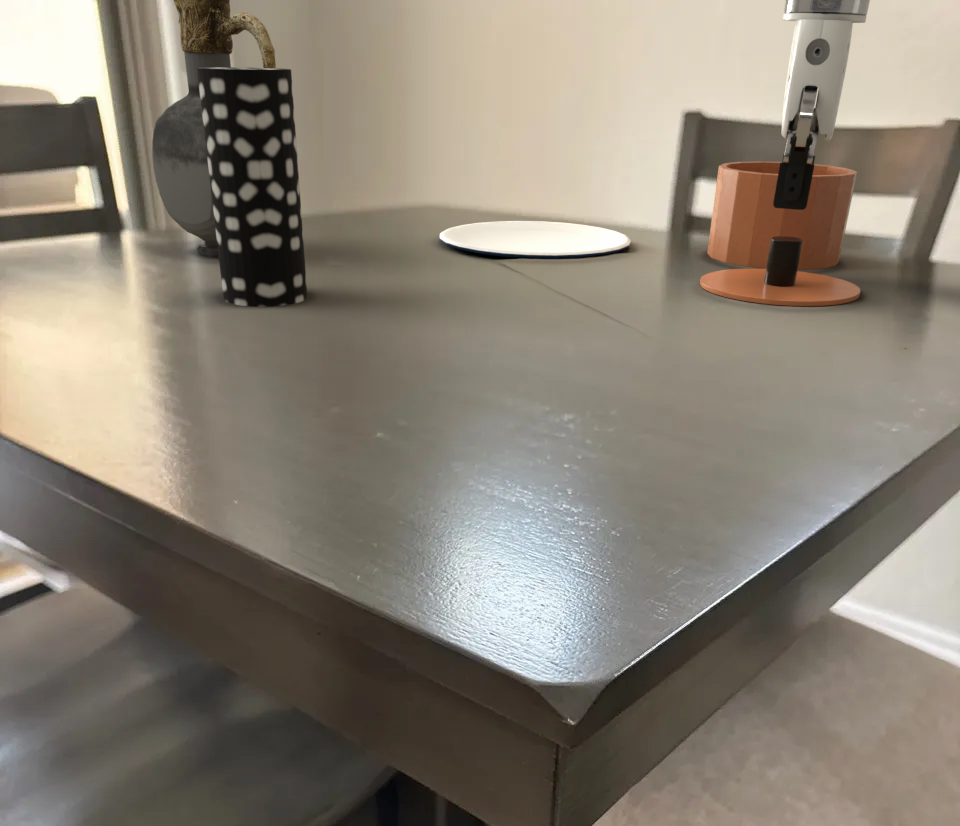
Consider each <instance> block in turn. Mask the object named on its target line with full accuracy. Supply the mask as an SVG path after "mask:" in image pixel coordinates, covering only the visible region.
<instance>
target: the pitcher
mask: <svg viewBox="0 0 960 826" xmlns="http://www.w3.org/2000/svg"><path fill="white" fill-rule="evenodd" d="M230 1H231V0H173V4H174V6H175V9H176V11H177V14H178V24H179V37H180V38H179V39H180V46H181V51H182V52H183V53H184V54H183V55H184V63H185V70H186V79H187V87H188V94H186V95H185V96H183V97H182V98H180V99H179V100H176V101H175V102H173V103H172V104H171V105H169V106H168V107H167V108H166V109H165V110H164V111H163V112H162V113H161V114H160V116H159V117H158V118H157V119H156V121H155V124H154V127H153V128H154V129H153V132H152V142H151V145H152V147H151V148H152V149H151V156H152V168H153V173H154V174H153V175H154V178H155V179H154V180H155V183H156V187H157V190H158V193H159V197H160V199H161V201H162V204H163V206H164V208H165V211H167V214H168V215H169V217H170V218H171V219H172V220H173V221H174V222H175V223H176V224H177V225H178V226H179V227H180V228H182V229H183V230H184V231H185V232H186V233H189V234H191V235H193V236H196V237H197V238H199V239H201V240H202V241H200V242H198V243H197V244H196V245H195V250H196V252H197V254H198V255H200V256H203V257H208V258H216V259H219V255H218V246H217V237H216V229H215V220H214V211H213V203H212V194H211V185H210V177H209V168H208V160H207V151H206V142H205V134H204V125H203V116H202V108H201V99H200V90H199V82H198V73H197V68H199V67H232V64H231V54H233V49H234V43H233V42H234V41H233V37H232V36H236V35H239V34H240V33H242V32H243V31H246V32H248V33H250V34H251V35H252V36H253V38H254V39H255V41H256V43H257V45H258V48H259V52H260V55H261V61H262V68H277V64H276V53H275V52H276V51H275V48H274V46H273V43H272V40H271V38H270V34H269V32H268V30H267V28H266V26H265V25H264V24H263V23H262V21H260V19H259V18H258V17H257V16H255V15H253V14H251V13H249V12H238V13H236V14H234V15H233V16H231V4H230V3H231V2H230Z"/></svg>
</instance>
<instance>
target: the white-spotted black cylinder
mask: <svg viewBox="0 0 960 826" xmlns="http://www.w3.org/2000/svg"><path fill="white" fill-rule="evenodd" d="M197 73H198V82H199V90H200V99H201V108H202V116H203V125H204V134H205V142H206V151H207V160H208V168H209V177H210V185H211V194H212V203H213V211H214V220H215V229H216V237H217V246H218V255H219V258H218V262H219V263H218V264H219V272H220V279H221V281H220V282H221V288H222V289H221V290H222V297H223V301H225V302H226V303H229V304H231V305H236V306H241V307H255V308H267V307H282V306H290V305H294V304H299V303H302V302H305V300H307V299H308V286H307V285H308V284H307V271H306V259H305V257H306V256H305V245H304V243H305V242H304V231H303V216H302V202H301V189H300V188H301V187H300V174H299V161H298V145H297V133H296V119H295V118H296V117H295V104H294V91H293V77H292V69H291V68H280V67H279V68H278V67H276V68H263V67H244V66H243V67H240V66H239V67H237V66H231V67H199V68H197Z"/></svg>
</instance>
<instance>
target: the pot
mask: <svg viewBox="0 0 960 826" xmlns="http://www.w3.org/2000/svg"><path fill="white" fill-rule="evenodd" d="M780 162H781V163H782V161H734V162H725V163H722V164H720V165H718V170H717V177H716V186H715V191H714V199H713V207H712V213H711V214H712V215H711V222H710V228H709V229H710V230H709V238H708V246H707V251H706V252H707V253H706V254H707V255H708V256H709V257H710V258H711V259H712V260H716V261H720V262H722V263H726V264H730V265H737V266H741V267H747V268H755V269H766V267H767V261H768V255H769V249H770V243H771V238H772V237H777V236H787V237H796V238H800V239H802V240H803V242H802V248H801V253H800V259H799V264H798V270H797V271H807V270H809V271H810V270H823V269H827V268H828V269H829V268H832V267H836V266H837V265H838V264H839V262H840V259H841V253H842V250H843V244H844V239H845V236H846V235H845V234H846V231H847V224H848V220H849V214H850V209H851V204H852V200H853V196H854V195H853V194H854V189H855V185H856V181H857V175H858V171H856V170H854V169H851V168H848V167H841V166H835V165H826V164H817V163H814V170H813V176H812V181H811V186H810V191H809V197H808V202H807V206H806V208H805V209H804V210H796V209H782V208H775V207H774V206H773V201H774V196H775V190H776V184H777V178H778V173H779V167H780Z"/></svg>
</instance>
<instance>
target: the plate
mask: <svg viewBox="0 0 960 826" xmlns="http://www.w3.org/2000/svg"><path fill="white" fill-rule="evenodd" d="M439 241H441V242H442V243H444V244H445V245H446V246H448V247H450V248H451V247H452V248H455V249H458V250H462V251H466V252H470V253H474V254H479V255H485V256H490V257H497V258H507V259H518V260H519V259H521V260H523V259H576V258H577V259H578V258H588V257H598V256H603V255H609V254H614V253H619V252H621V251H623V250H626V249H628V248H629V247H630V245H631V244H632V240H631V239H630V237H629V236H628V235H626V234H625V233H624V234H623V233H622V232H618V231H617V230H613V229H609V228H604V227H602V226H601V227H600V226H593V225H588V224H580V223H570V222H559V221H541V220H540V221H539V220H501V221H500V220H499V221H498V220H497V221H486V222H485V221H484V222H483V221H482V222H475V223H467V224H460V225H457V226H452V227H449V228H446V229H445V230H443V231H441V232H440V233H439Z"/></svg>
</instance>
